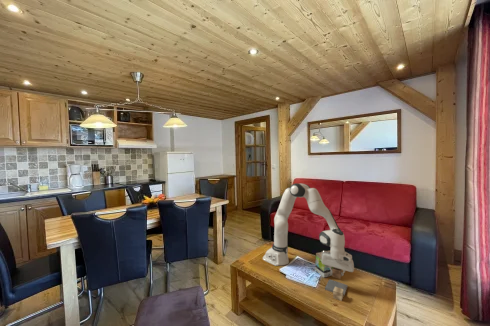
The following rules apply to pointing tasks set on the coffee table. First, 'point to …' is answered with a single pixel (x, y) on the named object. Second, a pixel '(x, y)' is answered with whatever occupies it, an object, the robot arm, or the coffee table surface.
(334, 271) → the walnut cube
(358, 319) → the coffee table surface
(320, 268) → the tea box
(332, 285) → the slate coaster
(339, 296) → the maple cube
